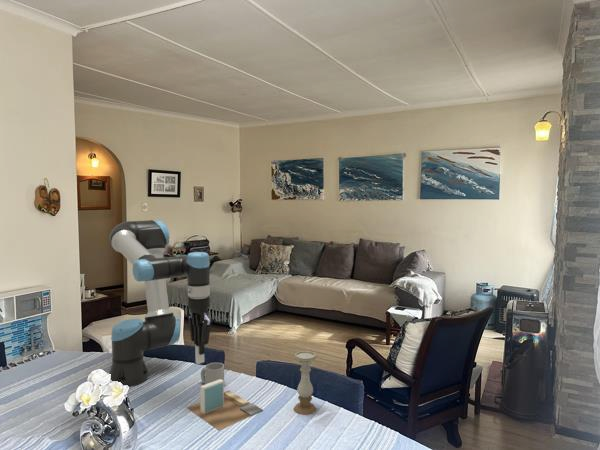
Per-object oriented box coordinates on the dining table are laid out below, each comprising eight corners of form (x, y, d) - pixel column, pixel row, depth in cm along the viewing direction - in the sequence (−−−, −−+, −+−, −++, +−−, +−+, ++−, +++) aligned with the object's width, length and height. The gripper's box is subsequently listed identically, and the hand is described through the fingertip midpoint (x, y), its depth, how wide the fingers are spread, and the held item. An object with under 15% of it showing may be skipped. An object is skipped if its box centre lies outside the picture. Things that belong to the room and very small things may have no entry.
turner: (220, 397, 154) (220, 393, 154) (231, 393, 158) (231, 389, 158) (250, 416, 142) (250, 411, 141) (262, 411, 145) (262, 406, 145)
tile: (200, 411, 144) (200, 386, 144) (220, 403, 150) (220, 379, 149) (204, 414, 143) (203, 388, 142) (224, 406, 148) (224, 381, 148)
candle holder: (320, 408, 149) (321, 351, 148) (313, 420, 141) (313, 361, 140) (297, 404, 152) (297, 348, 151) (288, 416, 144) (288, 357, 143)
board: (186, 410, 147) (186, 407, 147) (229, 394, 160) (229, 391, 160) (218, 434, 133) (218, 430, 133) (263, 413, 145) (263, 410, 145)
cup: (217, 394, 159) (217, 371, 159) (195, 389, 164) (195, 366, 163) (228, 386, 166) (227, 364, 165) (206, 382, 170) (206, 360, 169)
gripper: (179, 295, 151) (181, 360, 153) (199, 301, 142) (200, 370, 143) (198, 292, 157) (199, 355, 158) (218, 297, 147) (219, 364, 149)
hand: (200, 362), depth 151 cm, fingers closed
